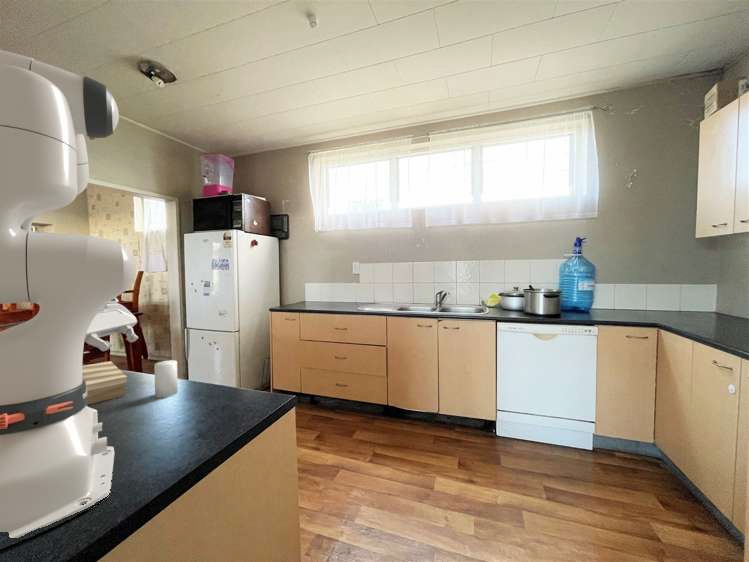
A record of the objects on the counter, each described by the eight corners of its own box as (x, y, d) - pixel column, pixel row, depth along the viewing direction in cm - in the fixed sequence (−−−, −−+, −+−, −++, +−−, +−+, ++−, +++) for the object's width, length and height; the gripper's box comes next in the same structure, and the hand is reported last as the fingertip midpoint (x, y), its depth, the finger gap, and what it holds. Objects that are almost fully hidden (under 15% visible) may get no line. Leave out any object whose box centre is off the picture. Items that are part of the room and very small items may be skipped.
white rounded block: (180, 393, 82) (179, 362, 82) (158, 399, 78) (157, 367, 78) (174, 389, 85) (173, 359, 85) (152, 394, 81) (152, 363, 81)
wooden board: (127, 395, 81) (127, 376, 81) (50, 413, 70) (50, 392, 70) (111, 376, 95) (110, 361, 95) (45, 390, 84) (44, 372, 84)
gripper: (51, 303, 69) (98, 345, 70) (119, 296, 89) (155, 328, 90) (30, 322, 69) (78, 364, 70) (103, 311, 89) (139, 343, 90)
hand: (122, 344), depth 80 cm, fingers open, 8 cm apart
